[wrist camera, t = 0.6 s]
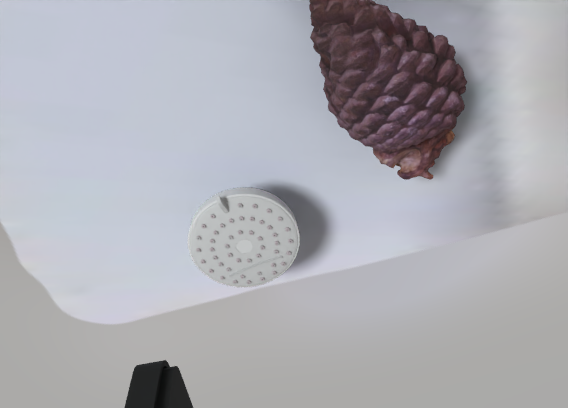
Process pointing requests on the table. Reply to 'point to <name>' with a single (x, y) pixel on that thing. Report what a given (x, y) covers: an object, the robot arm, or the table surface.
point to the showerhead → (243, 237)
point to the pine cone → (388, 82)
